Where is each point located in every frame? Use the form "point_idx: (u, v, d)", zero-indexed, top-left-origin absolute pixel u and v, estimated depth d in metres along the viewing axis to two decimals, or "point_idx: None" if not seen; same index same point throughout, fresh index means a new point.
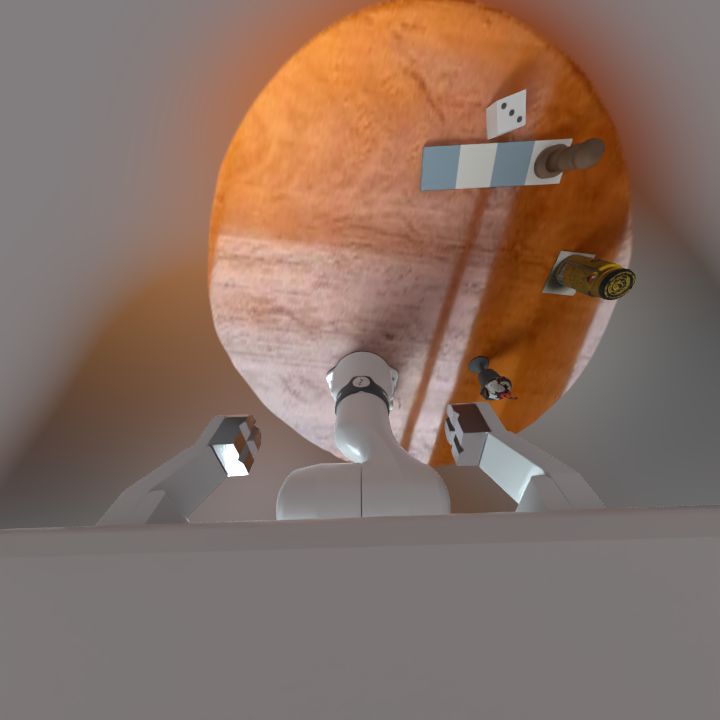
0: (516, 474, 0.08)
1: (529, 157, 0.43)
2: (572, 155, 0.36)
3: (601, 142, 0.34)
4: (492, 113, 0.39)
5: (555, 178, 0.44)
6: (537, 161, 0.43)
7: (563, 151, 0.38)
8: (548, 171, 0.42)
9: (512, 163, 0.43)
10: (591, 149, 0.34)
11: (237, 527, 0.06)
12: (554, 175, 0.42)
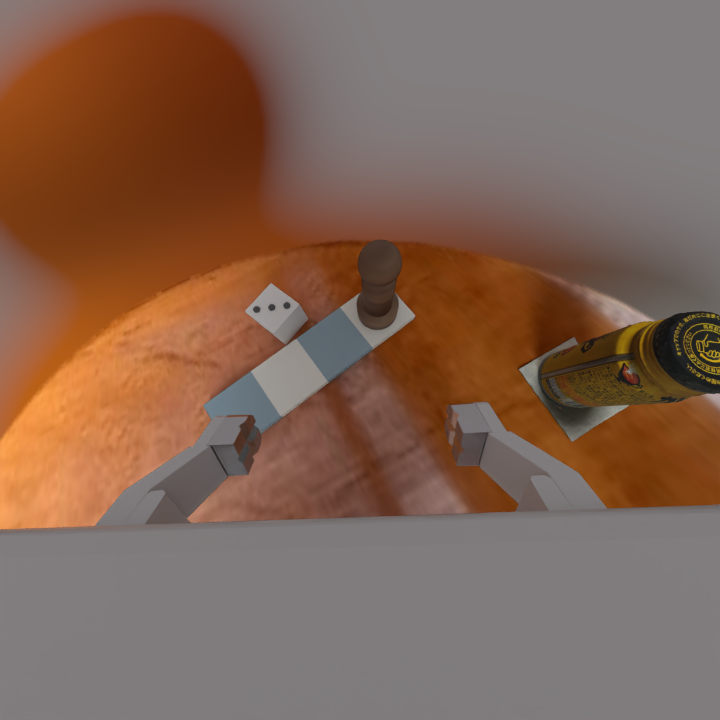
0: (516, 474, 0.08)
1: (349, 322, 0.28)
2: (364, 279, 0.21)
3: (375, 240, 0.19)
4: (259, 323, 0.27)
5: (404, 315, 0.28)
6: (360, 318, 0.28)
7: None
8: (379, 316, 0.26)
9: (333, 340, 0.28)
10: (369, 254, 0.18)
11: (236, 528, 0.06)
12: (393, 313, 0.26)
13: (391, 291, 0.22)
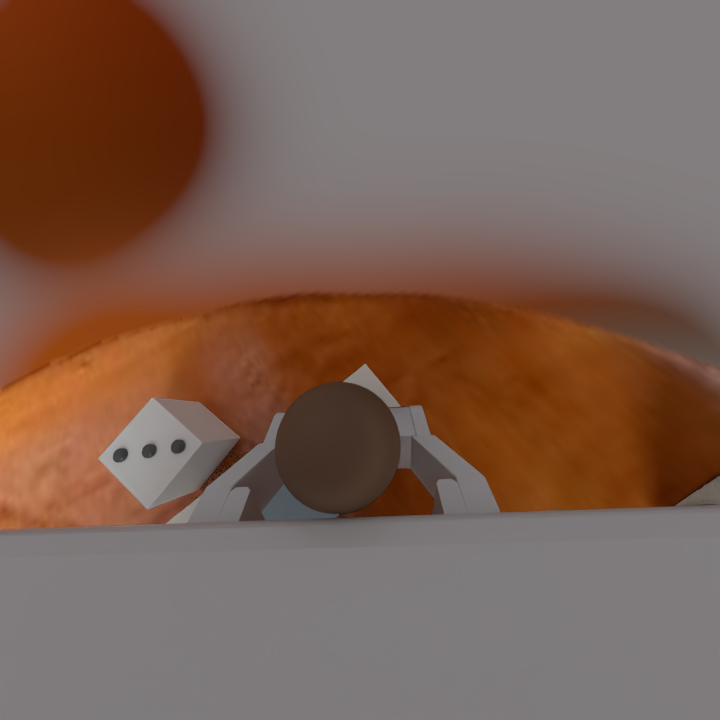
0: (435, 477, 0.08)
1: None
2: None
3: (319, 399, 0.06)
4: None
5: None
6: None
7: None
8: None
9: (279, 490, 0.15)
10: (294, 457, 0.06)
11: (236, 527, 0.06)
12: None
13: None
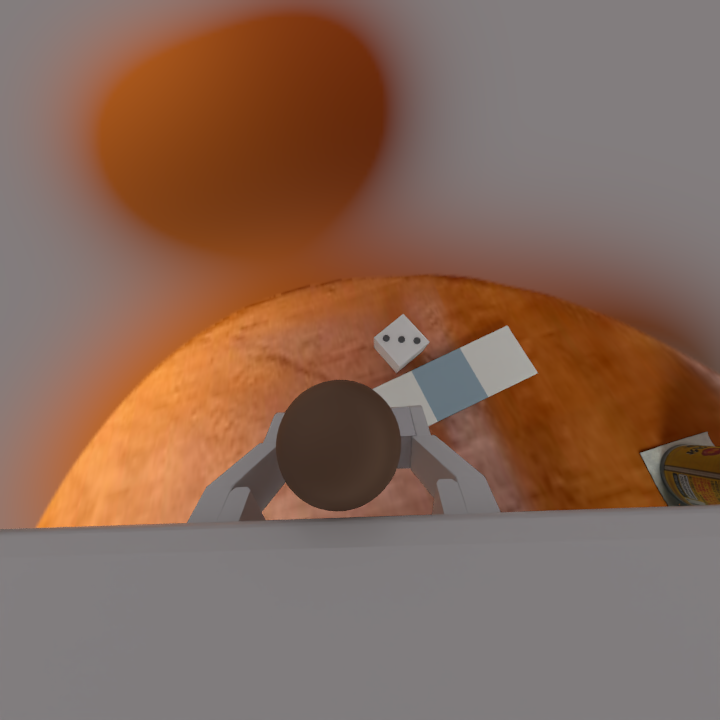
0: (435, 477, 0.08)
1: (467, 365, 0.28)
2: None
3: (320, 397, 0.06)
4: (380, 349, 0.28)
5: (526, 370, 0.28)
6: None
7: None
8: None
9: (449, 381, 0.28)
10: (295, 454, 0.06)
11: (236, 527, 0.06)
12: None
13: None
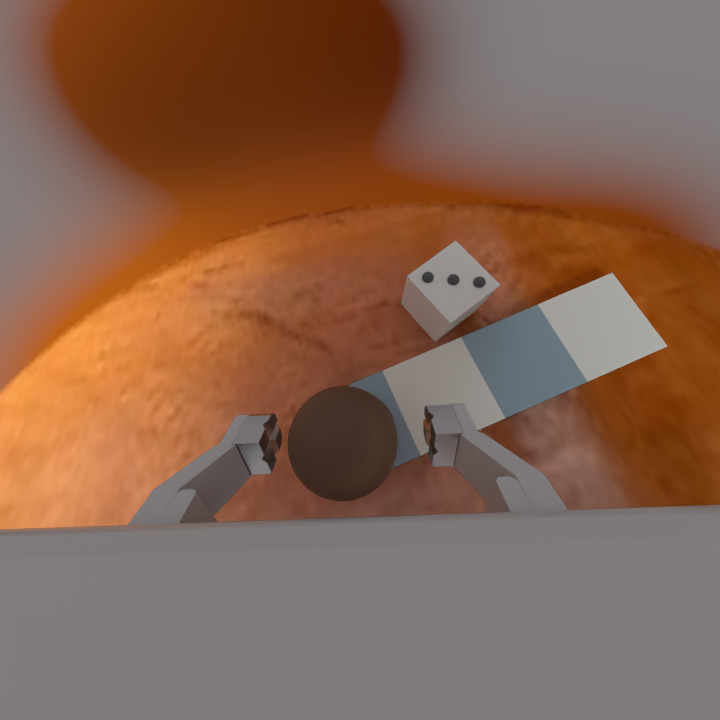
0: (486, 475, 0.08)
1: (551, 332, 0.18)
2: None
3: (327, 402, 0.07)
4: (414, 300, 0.17)
5: (648, 341, 0.17)
6: None
7: None
8: None
9: (522, 354, 0.17)
10: (306, 451, 0.07)
11: (236, 527, 0.06)
12: None
13: None
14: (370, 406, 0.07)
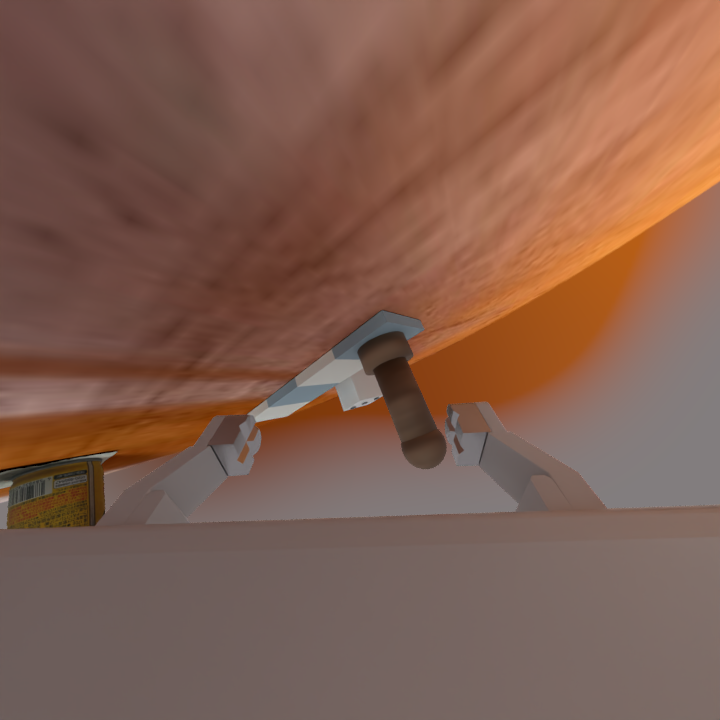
0: (516, 474, 0.08)
1: (298, 402, 0.32)
2: (432, 429, 0.19)
3: None
4: (374, 384, 0.31)
5: None
6: (400, 339, 0.21)
7: None
8: (383, 365, 0.21)
9: (305, 395, 0.30)
10: None
11: (236, 527, 0.06)
12: (368, 370, 0.21)
13: (395, 420, 0.20)
14: None
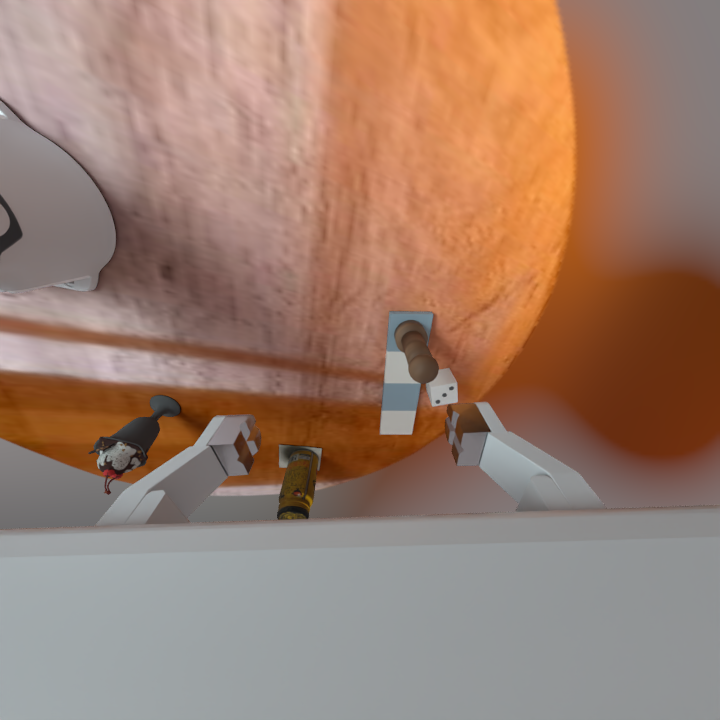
0: (516, 474, 0.08)
1: (404, 409, 0.45)
2: (420, 353, 0.29)
3: (435, 375, 0.29)
4: (446, 377, 0.40)
5: (384, 431, 0.48)
6: (409, 322, 0.35)
7: (422, 342, 0.32)
8: (401, 338, 0.35)
9: (402, 398, 0.44)
10: (428, 370, 0.28)
11: (237, 527, 0.06)
12: (399, 346, 0.36)
13: None
14: (428, 382, 0.29)
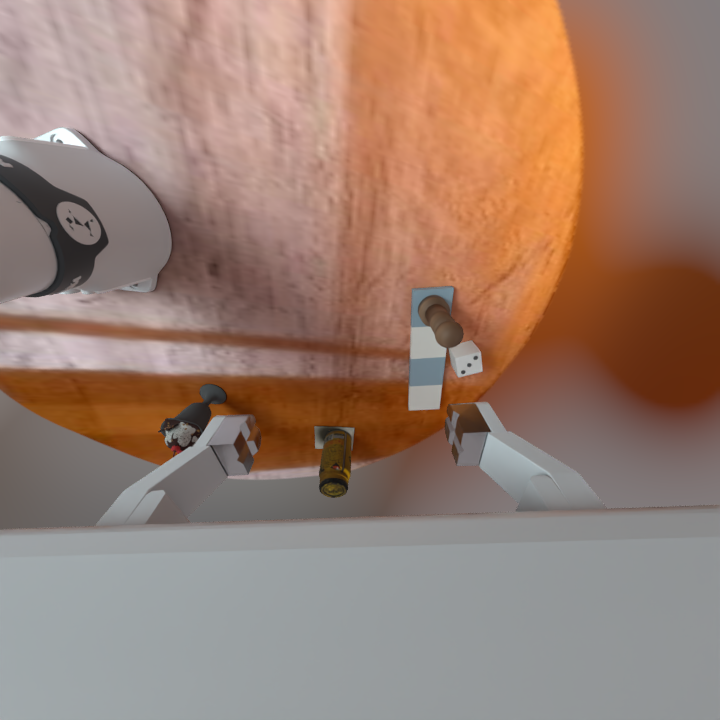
0: (516, 474, 0.08)
1: (430, 384, 0.47)
2: (445, 321, 0.32)
3: (461, 339, 0.31)
4: (470, 348, 0.42)
5: (412, 406, 0.50)
6: (431, 296, 0.38)
7: (445, 312, 0.35)
8: (425, 312, 0.38)
9: (428, 372, 0.46)
10: (454, 333, 0.30)
11: (236, 527, 0.06)
12: (423, 320, 0.39)
13: None
14: None
